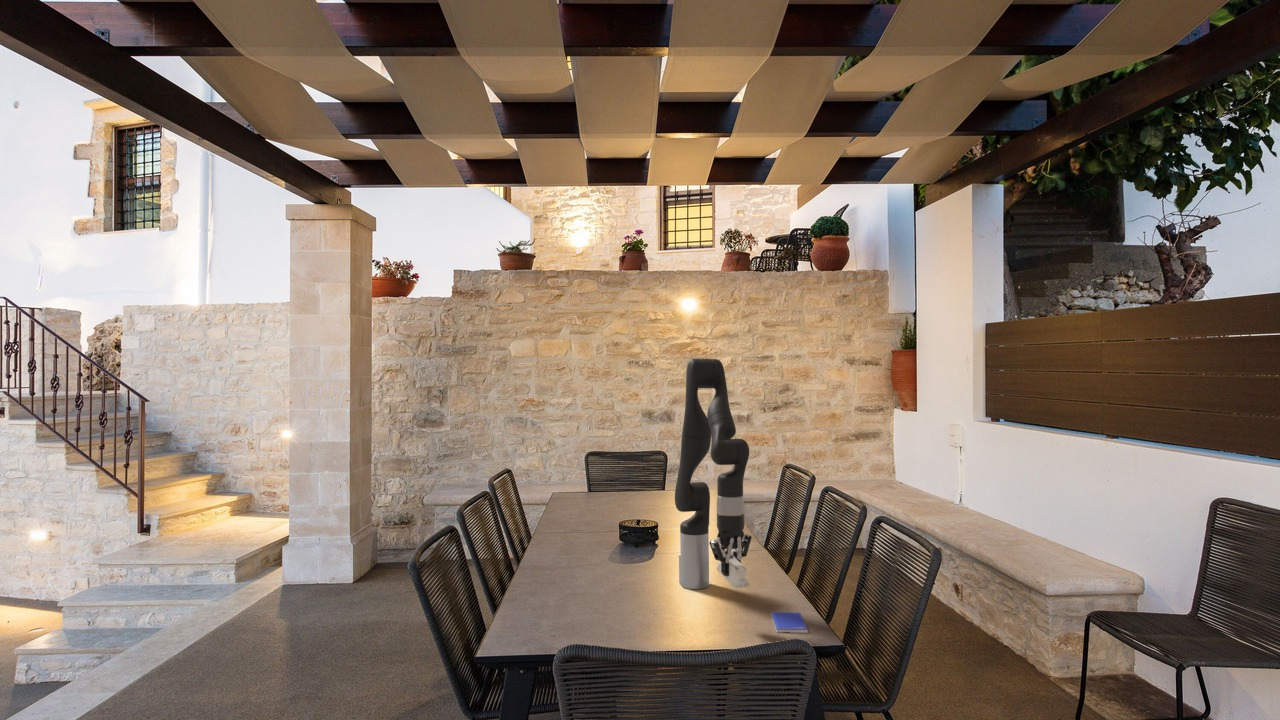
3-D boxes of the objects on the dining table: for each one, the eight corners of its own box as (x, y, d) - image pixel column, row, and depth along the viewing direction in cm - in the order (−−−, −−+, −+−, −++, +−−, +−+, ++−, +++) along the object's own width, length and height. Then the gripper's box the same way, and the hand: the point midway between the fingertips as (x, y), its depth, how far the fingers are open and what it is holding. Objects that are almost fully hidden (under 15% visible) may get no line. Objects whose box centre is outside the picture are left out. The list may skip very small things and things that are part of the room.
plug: (714, 567, 194) (719, 552, 192) (723, 565, 196) (728, 550, 194) (739, 593, 185) (744, 578, 184) (748, 591, 187) (753, 576, 185)
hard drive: (807, 629, 184) (800, 612, 196) (776, 628, 185) (771, 612, 197) (807, 634, 184) (800, 618, 196) (776, 634, 185) (771, 617, 197)
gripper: (740, 506, 198) (741, 566, 198) (701, 512, 190) (702, 575, 190) (758, 510, 191) (759, 573, 191) (719, 517, 184) (720, 582, 183)
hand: (731, 574), depth 190 cm, fingers closed on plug, 3 cm apart
